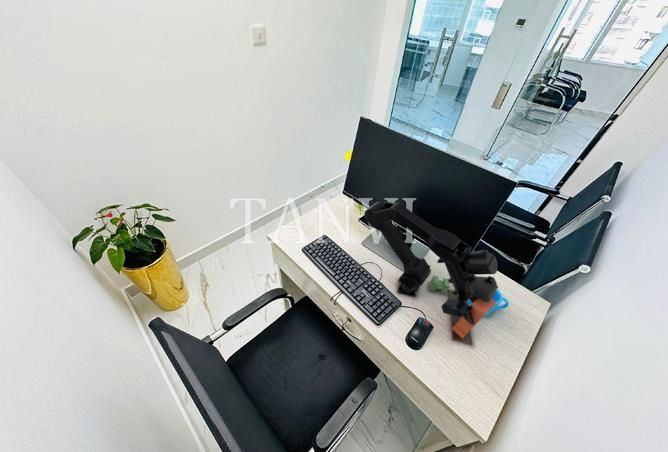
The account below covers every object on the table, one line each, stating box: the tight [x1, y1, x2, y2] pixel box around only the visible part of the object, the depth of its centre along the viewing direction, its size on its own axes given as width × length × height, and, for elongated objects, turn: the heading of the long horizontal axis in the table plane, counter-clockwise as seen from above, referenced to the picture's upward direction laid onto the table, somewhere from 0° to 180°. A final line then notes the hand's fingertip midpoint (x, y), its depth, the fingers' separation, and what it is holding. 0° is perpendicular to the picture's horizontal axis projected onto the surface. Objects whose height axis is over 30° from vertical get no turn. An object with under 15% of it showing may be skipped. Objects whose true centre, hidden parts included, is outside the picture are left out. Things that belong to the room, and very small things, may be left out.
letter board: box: [447, 289, 473, 346], centre depth 89 cm, size 6×20×1 cm, turn 165°
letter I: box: [452, 298, 496, 339], centre depth 79 cm, size 4×6×16 cm, turn 127°
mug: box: [467, 288, 510, 317], centre depth 90 cm, size 12×8×8 cm
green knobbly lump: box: [429, 275, 451, 295], centre depth 96 cm, size 4×6×5 cm, turn 75°
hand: (476, 319), depth 78 cm, fingers closed on letter I, 5 cm apart
